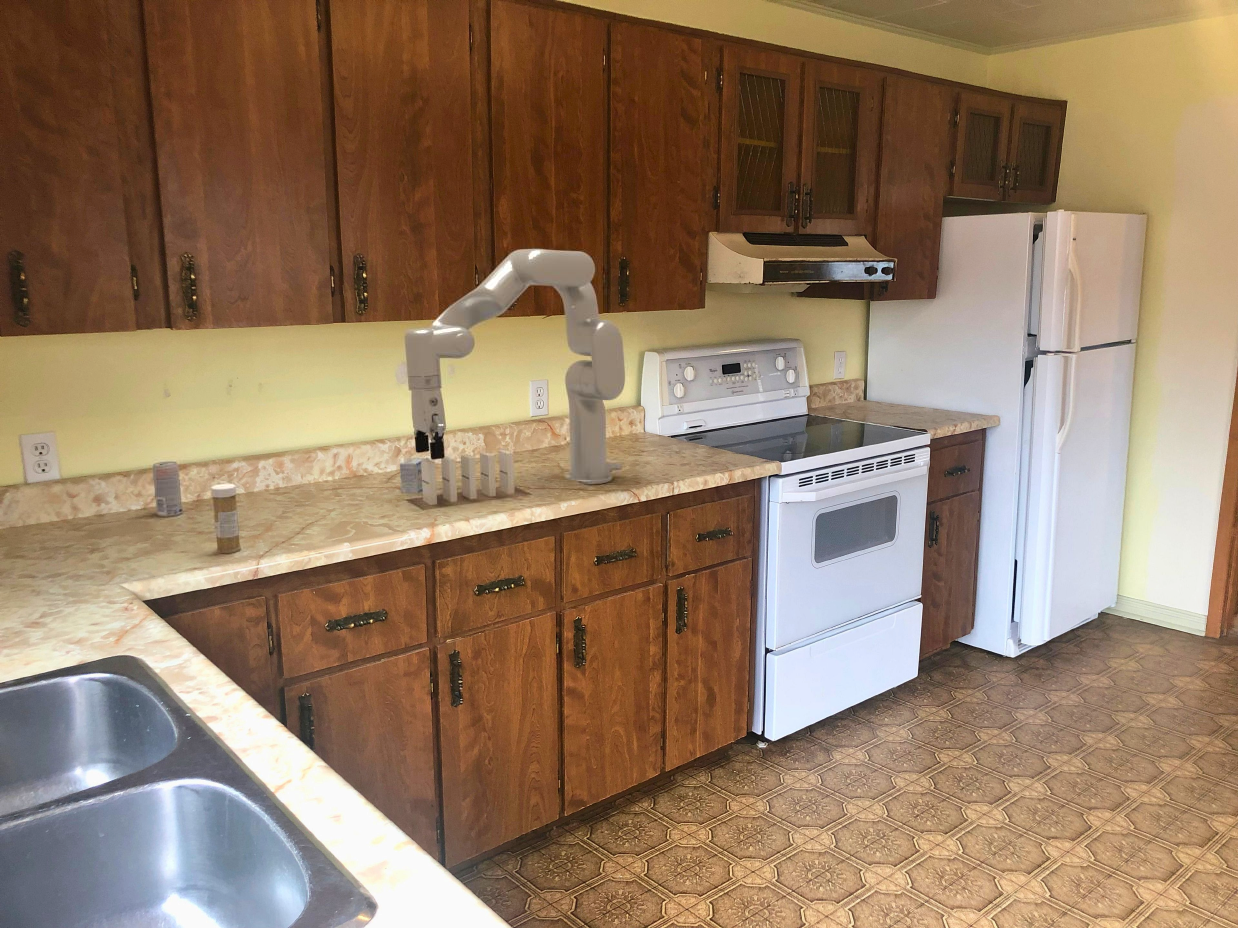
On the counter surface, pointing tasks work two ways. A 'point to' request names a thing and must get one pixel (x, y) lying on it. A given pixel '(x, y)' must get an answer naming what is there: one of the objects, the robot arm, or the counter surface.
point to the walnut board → (466, 499)
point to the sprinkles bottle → (226, 518)
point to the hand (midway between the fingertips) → (430, 455)
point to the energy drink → (167, 489)
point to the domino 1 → (429, 481)
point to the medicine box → (411, 476)
